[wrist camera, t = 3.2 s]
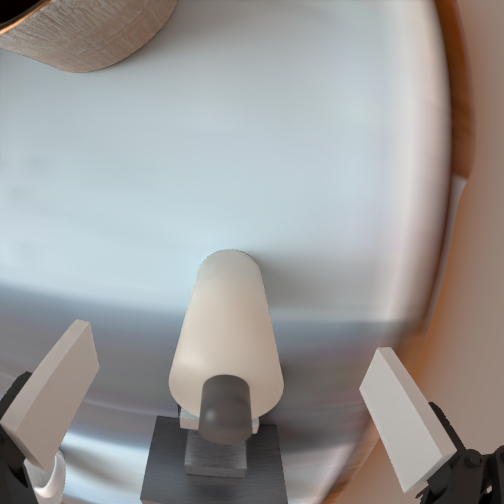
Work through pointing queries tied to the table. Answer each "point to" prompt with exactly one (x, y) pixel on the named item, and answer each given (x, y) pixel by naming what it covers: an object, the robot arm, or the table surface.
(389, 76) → the table surface
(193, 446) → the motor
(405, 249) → the table surface
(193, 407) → the white bottle
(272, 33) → the table surface
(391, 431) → the robot arm
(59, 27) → the planter
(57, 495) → the mug
